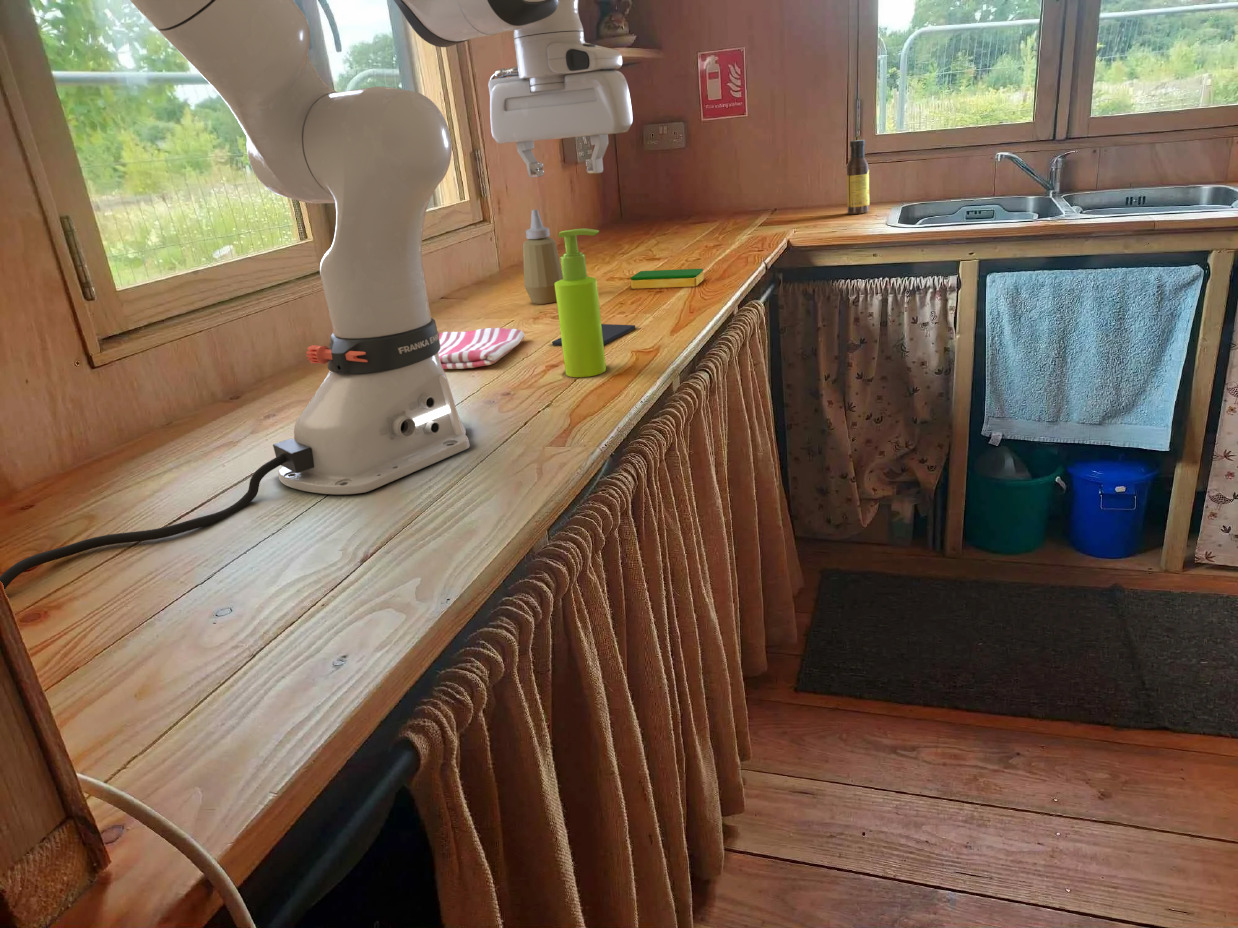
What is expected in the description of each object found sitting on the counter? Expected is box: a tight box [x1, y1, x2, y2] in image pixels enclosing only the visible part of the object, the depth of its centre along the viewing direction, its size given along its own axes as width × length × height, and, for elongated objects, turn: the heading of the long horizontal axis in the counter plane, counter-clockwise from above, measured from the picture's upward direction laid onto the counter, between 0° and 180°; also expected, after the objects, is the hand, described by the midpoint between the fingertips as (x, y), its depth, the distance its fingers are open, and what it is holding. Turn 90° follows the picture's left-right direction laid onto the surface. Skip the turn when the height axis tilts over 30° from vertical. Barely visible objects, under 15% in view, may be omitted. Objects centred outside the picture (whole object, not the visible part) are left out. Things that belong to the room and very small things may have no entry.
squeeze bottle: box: [522, 209, 563, 305], centre depth 173 cm, size 8×8×18 cm
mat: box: [551, 323, 636, 346], centre depth 145 cm, size 12×9×1 cm
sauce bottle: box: [846, 139, 871, 215], centre depth 249 cm, size 6×6×20 cm
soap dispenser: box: [555, 227, 607, 378], centre depth 122 cm, size 6×7×20 cm
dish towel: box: [438, 327, 525, 370], centre depth 141 cm, size 17×23×4 cm
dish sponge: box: [630, 268, 705, 290], centre depth 180 cm, size 7×14×2 cm, turn 72°
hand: (565, 175), depth 116 cm, fingers open, 8 cm apart
